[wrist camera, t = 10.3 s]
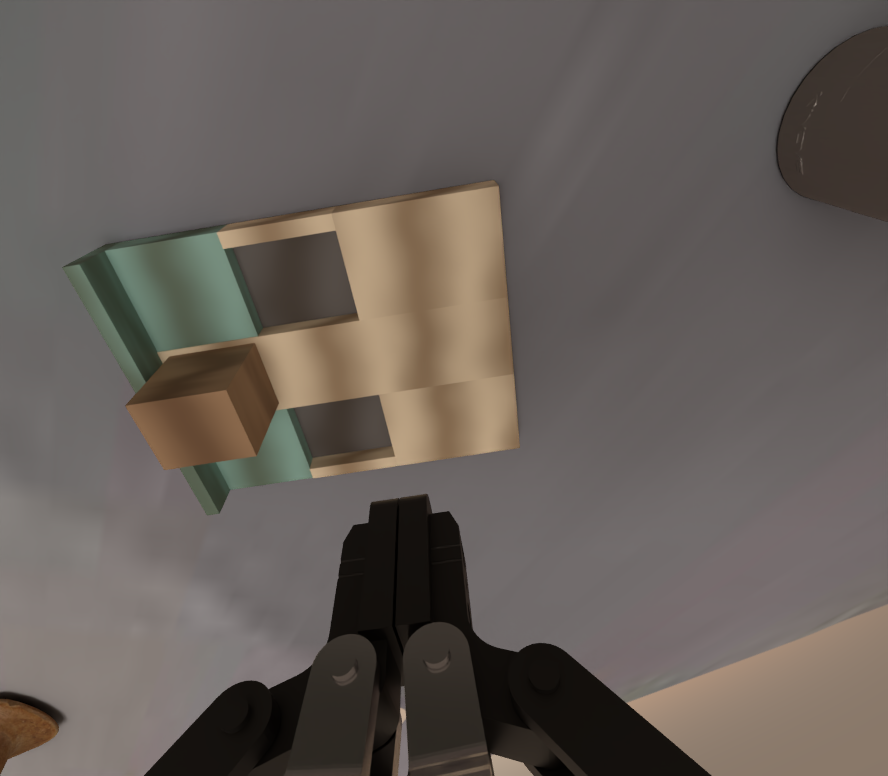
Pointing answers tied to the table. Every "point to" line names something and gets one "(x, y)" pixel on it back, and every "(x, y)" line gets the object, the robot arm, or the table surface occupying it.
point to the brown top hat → (22, 729)
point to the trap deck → (330, 328)
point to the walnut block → (206, 407)
